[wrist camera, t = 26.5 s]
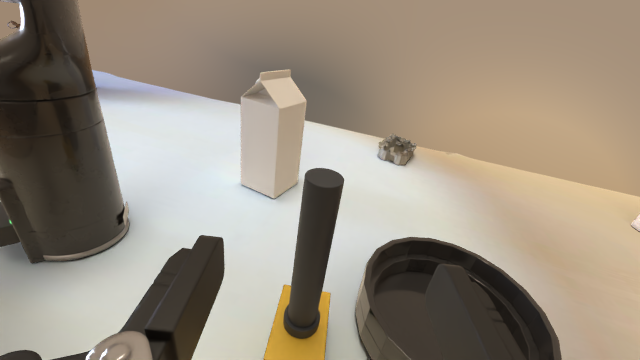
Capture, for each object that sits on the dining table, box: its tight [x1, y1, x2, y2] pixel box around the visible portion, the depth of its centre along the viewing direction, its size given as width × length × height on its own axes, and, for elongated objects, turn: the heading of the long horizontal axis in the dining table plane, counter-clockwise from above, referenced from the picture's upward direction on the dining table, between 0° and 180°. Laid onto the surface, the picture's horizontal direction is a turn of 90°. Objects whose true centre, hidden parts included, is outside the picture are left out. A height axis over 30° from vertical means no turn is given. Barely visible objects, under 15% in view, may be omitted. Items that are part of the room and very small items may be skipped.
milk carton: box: [241, 69, 306, 198], centre depth 46 cm, size 7×7×19 cm
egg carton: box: [378, 134, 416, 165], centre depth 69 cm, size 11×8×4 cm
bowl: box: [355, 237, 562, 360], centre depth 28 cm, size 17×17×5 cm
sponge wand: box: [263, 168, 344, 360], centre depth 22 cm, size 7×4×18 cm, turn 174°
